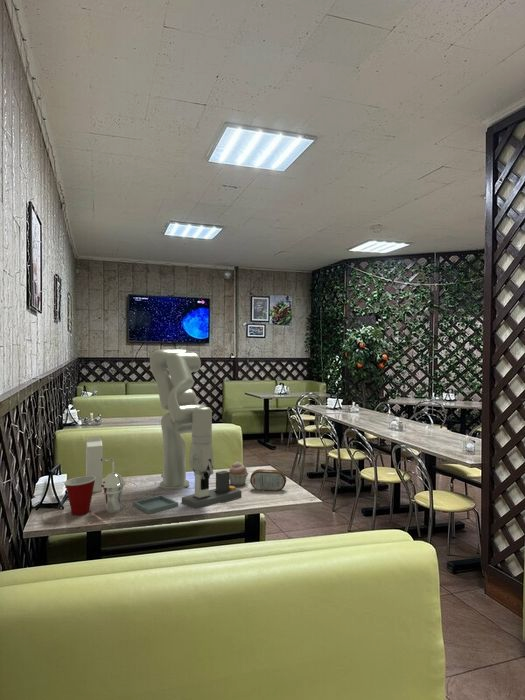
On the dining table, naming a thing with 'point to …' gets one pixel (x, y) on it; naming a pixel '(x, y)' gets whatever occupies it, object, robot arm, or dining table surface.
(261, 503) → the dining table surface
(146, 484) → the dining table surface
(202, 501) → the power strip
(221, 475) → the black plug
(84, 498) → the plastic cup
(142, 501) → the tray
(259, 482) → the brown oval speaker
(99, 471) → the milk
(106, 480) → the cup with straw
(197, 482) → the plug
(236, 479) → the cupcake
